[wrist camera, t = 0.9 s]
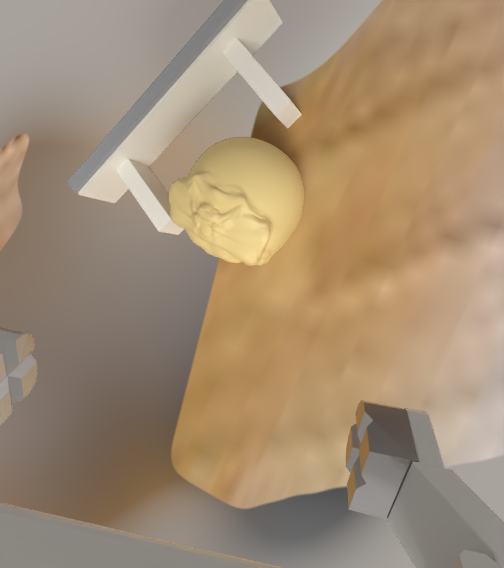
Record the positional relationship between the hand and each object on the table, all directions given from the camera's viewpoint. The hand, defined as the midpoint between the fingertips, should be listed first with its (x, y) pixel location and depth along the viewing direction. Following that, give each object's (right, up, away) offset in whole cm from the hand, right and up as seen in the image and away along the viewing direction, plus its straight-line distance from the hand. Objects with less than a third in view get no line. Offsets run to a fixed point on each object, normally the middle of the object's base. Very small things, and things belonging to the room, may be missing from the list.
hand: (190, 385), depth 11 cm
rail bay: (-3, +18, +39) cm, 43 cm away
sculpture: (+2, +11, +37) cm, 38 cm away
